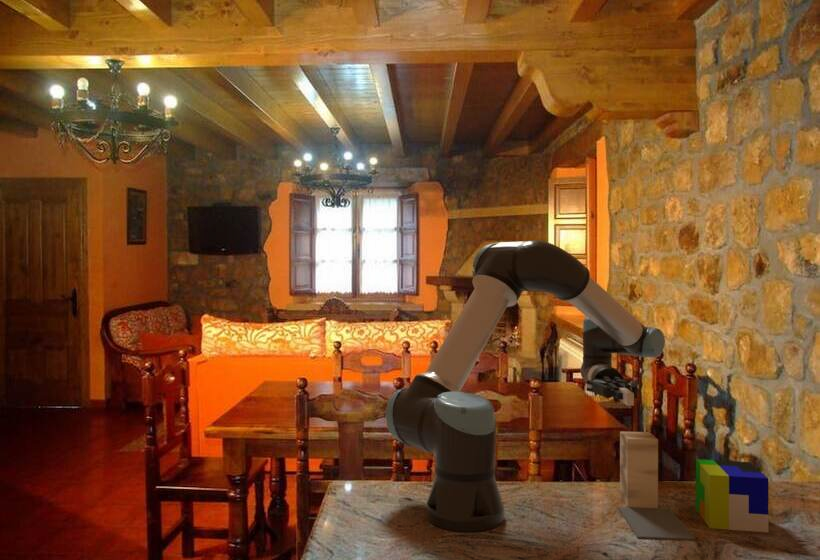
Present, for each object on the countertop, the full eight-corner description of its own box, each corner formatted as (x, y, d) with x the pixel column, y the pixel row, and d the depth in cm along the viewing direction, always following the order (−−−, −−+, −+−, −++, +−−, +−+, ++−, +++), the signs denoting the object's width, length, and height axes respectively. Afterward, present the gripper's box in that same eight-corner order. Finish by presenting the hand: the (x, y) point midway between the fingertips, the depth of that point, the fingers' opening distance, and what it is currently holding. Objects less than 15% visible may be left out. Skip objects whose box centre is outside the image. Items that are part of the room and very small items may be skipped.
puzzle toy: (768, 532, 112) (768, 478, 112) (709, 528, 114) (709, 474, 114) (749, 512, 122) (749, 462, 122) (695, 508, 124) (695, 459, 124)
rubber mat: (618, 508, 124) (618, 507, 124) (669, 510, 123) (669, 508, 123) (637, 538, 110) (637, 536, 110) (695, 540, 109) (695, 538, 109)
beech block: (619, 497, 130) (620, 431, 130) (649, 498, 130) (649, 432, 129) (627, 507, 124) (627, 439, 124) (657, 508, 124) (658, 439, 123)
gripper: (631, 394, 157) (661, 416, 134) (579, 394, 158) (600, 416, 135) (631, 365, 157) (660, 382, 134) (579, 365, 158) (599, 382, 135)
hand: (630, 399), depth 134 cm, fingers closed
